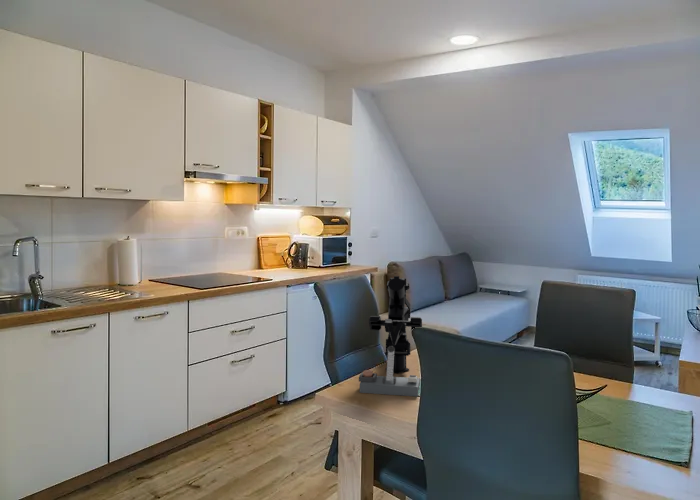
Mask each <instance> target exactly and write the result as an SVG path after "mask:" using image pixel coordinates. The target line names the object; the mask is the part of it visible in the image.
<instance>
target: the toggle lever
mask: <svg viewBox="0 0 700 500" xmlns="http://www.w3.org/2000/svg"><path fill="white" fill-rule="evenodd" d="M394 351H395V348H394V347H393V346H389V347H388V355H387V361H386V363H387V365H386V368H387V370H386V376H387V377H386V380H387V381H393V377H394V372H393V366H394Z"/></svg>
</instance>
